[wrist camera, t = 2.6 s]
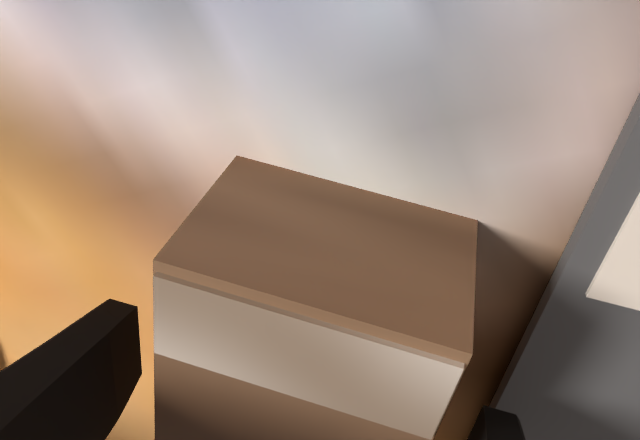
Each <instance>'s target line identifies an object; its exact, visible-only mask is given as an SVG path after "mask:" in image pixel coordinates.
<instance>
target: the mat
mask: <svg viewBox="0 0 640 440" xmlns="http://www.w3.org/2000/svg"><path fill="white" fill-rule="evenodd" d="M489 407H491V408H495V409H499V410H502V411H506V412H509V413H513V414H516V415H517V417H518V418H519V420H520V422H521V426H522V429H523V433H524V436H525V439H526V440H640V94H639V96H638V98H637V100H636V102H635V104H634V106H633V108H632V110H631V113H630V115H629V117H628V119H627V121H626V123H625V125H624V127H623V129H622V131H621V133H620V135H619V137H618V140H617V142H616V144H615V146H614V148H613V150H612V152H611V154H610V156H609V158H608V160H607V162H606V164H605V167H604V169H603V171H602V173H601V175H600V177H599V179H598V181H597V183H596V185H595V187H594V189H593V191H592V193H591V196H590V198H589V200H588V202H587V204H586V206H585V208H584V210H583V212H582V214H581V216H580V218H579V220H578V223H577V225H576V227H575V229H574V231H573V233H572V235H571V237H570V239H569V241H568V243H567V245H566V247H565V250H564V252H563V254H562V256H561V258H560V260H559V262H558V264H557V266H556V268H555V270H554V272H553V274H552V277H551V279H550V281H549V283H548V285H547V287H546V289H545V291H544V293H543V295H542V297H541V299H540V301H539V303H538V306H537V308H536V310H535V312H534V314H533V316H532V318H531V320H530V322H529V324H528V326H527V328H526V330H525V333H524V335H523V337H522V339H521V341H520V343H519V345H518V347H517V349H516V351H515V353H514V355H513V357H512V360H511V362H510V364H509V366H508V368H507V370H506V372H505V374H504V376H503V378H502V380H501V382H500V384H499V386H498V389H497V391H496V393H495V395H494V397H493V399H492V401H491V403H490V405H489Z"/></svg>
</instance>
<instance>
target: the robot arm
mask: <svg viewBox="0 0 640 440" xmlns="http://www.w3.org/2000/svg"><path fill="white" fill-rule="evenodd" d="M141 374H142V368H141V353H140V338H139V324H138V309H137V306H133V305H130V304H126V303H123V302H119V301H116V300H112V299H109V300H107V301H105V302H104V303H102V304H101V305H99V306H98V307H96V308H95V309H93V310H92V311H90V312H89V313H87V314H86V315H84V316H83V317H82V318H80V319H79V320H77V321H76V322H74V323H73V324H71V325H70V326H68V327H67V328H65V329H64V330H63V331H61V332H60V333H58V334H57V335H55V336H54V337H52V338H51V339H49V340H48V341H46V342H45V343H43V344H42V345H40V346H39V347H37V348H36V349H34V350H33V351H31V352H29V353H28V354H26V355H25V356H23V357H22V358H20V359H19V360H17V361H16V362H14V363H12V364H11V365H9V366H8V367H6V368H5V369H3V370H1V371H0V440H105V439H106V437H107V436H108V434H109V433H110V431H111V430H112V428H113V427H114V425H115V424H116V422H117V421H118V419H119V417H120V415H121V413H122V412H123V410H124V408H125V406H126V404H127V402H128V400H129V398H130V396H131V394H132V392H133V390H134V388H135V386H136V384H137V382H138V380H139V378H140V376H141ZM467 440H526V439H525V436H524V433H523V429H522V426H521V422H520V420H519V418H518V417H517V415H516V414H513V413H509V412H506V411H502V410H499V409H495V408H491V407H488V406H484V405H483V407H482V409H481V411H480V413H479V415H478V418H477V420H476V422H475V424H474V426H473V428H472V430H471V432H470V434H469V437H468V439H467Z"/></svg>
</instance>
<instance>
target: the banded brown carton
mask: <svg viewBox="0 0 640 440" xmlns="http://www.w3.org/2000/svg"><path fill="white" fill-rule="evenodd" d="M477 224H478V220H474V219H470V218H467V217H463V216H459V215H455V214H452V213H448V212H444V211H441V210H437V209H433V208H430V207H426V206H422V205H418V204H415V203H411V202H407V201H404V200H400V199H396V198H392V197H389V196H385V195H381V194H378V193H374V192H370V191H366V190H363V189H359V188H355V187H352V186H348V185H344V184H340V183H337V182H333V181H329V180H326V179H322V178H318V177H314V176H311V175H307V174H303V173H300V172H296V171H292V170H288V169H285V168H281V167H277V166H274V165H270V164H266V163H262V162H259V161H255V160H251V159H248V158H244V157H240V156H236V157H235V158H234V160H233V161H232V162H231V163H230V165H229V166H228V167H227V168H226V170H225V171H224V172H223V173H222V175H221V176H220V177H219V178H218V180H217V181H216V182H215V183H214V185H213V186H212V187H211V188H210V190H209V191H208V192H207V193H206V195H205V196H204V197H203V198H202V200H201V201H200V202H199V203H198V205H197V206H196V207H195V208H194V209H193V211H192V212H191V213H190V214H189V216H188V217H187V218H186V219H185V221H184V222H183V223H182V224H181V226H180V227H179V228H178V229H177V231H176V232H175V233H174V234H173V236H172V237H171V238H170V239H169V241H168V242H167V243H166V244H165V246H164V247H163V248H162V249H161V251H160V252H159V253H158V254H157V256H156V257H155V258H154V259H153V306H154V396H155V440H433V439H434V437H435V434H436V432H437V430H438V428H439V426H440V424H441V422H442V419H443V417H444V415H445V413H446V411H447V409H448V406H449V404H450V402H451V400H452V398H453V396H454V394H455V391H456V389H457V387H458V385H459V383H460V381H461V379H462V376H463V374H464V372H465V370H466V368H467V366H468V364H469V361H470V359H471V357H472V355H473V334H474V306H475V279H476V251H477Z"/></svg>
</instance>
